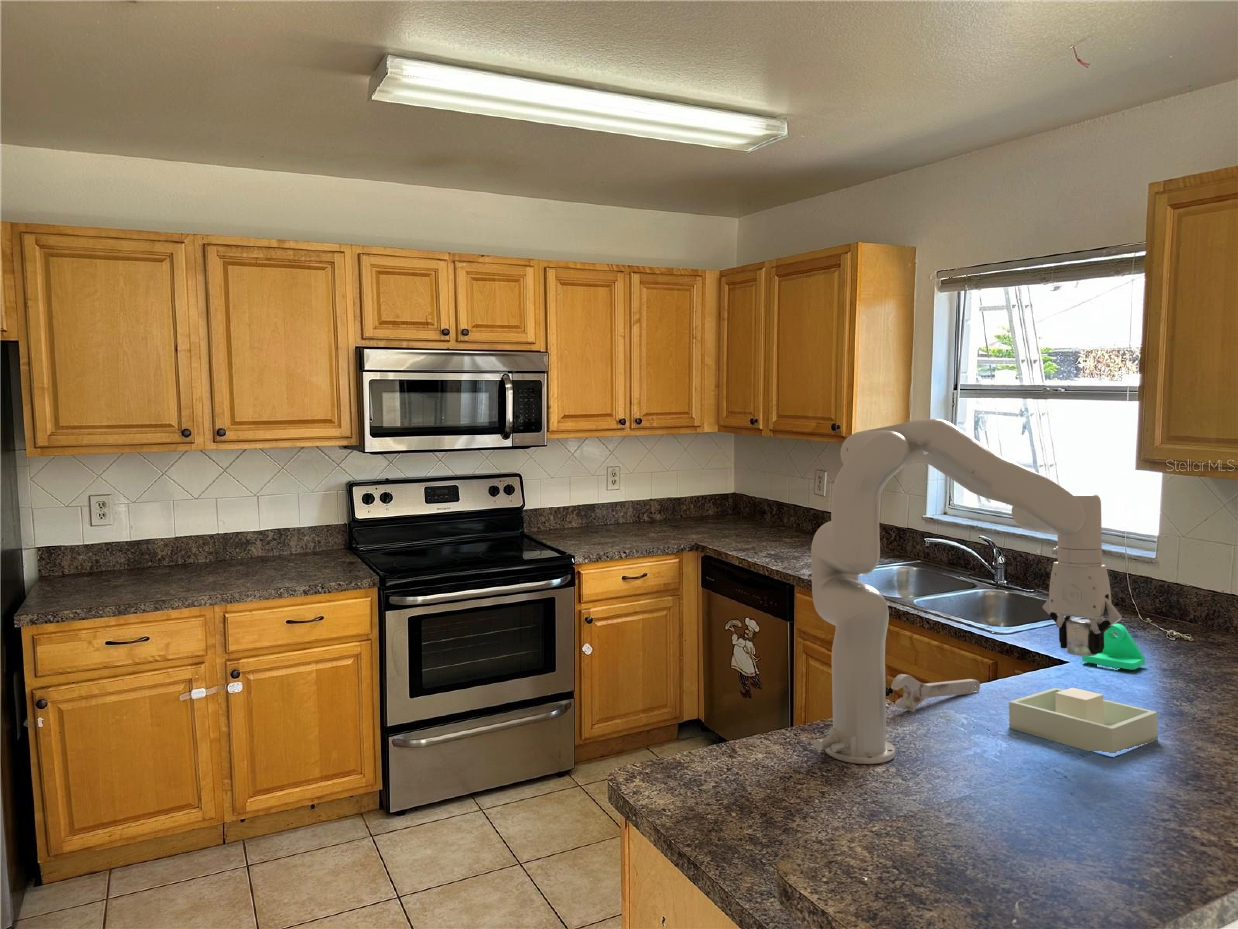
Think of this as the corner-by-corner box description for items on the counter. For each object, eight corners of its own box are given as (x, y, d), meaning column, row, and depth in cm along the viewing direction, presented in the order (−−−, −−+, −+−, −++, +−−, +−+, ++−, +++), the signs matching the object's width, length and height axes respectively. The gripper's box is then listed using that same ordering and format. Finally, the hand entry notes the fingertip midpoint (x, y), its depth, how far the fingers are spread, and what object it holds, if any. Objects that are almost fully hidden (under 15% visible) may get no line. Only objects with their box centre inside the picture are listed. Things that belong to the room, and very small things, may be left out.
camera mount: (1080, 665, 214) (1080, 624, 214) (1093, 660, 219) (1092, 620, 218) (1133, 674, 204) (1132, 632, 204) (1145, 668, 209) (1144, 627, 209)
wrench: (979, 704, 193) (896, 715, 176) (972, 703, 195) (888, 713, 178) (981, 669, 193) (898, 676, 176) (974, 667, 195) (891, 674, 178)
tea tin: (1087, 657, 160) (1087, 626, 160) (1060, 652, 164) (1060, 621, 164) (1102, 653, 163) (1101, 622, 163) (1075, 648, 167) (1075, 618, 167)
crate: (1112, 758, 151) (1112, 728, 151) (1009, 728, 168) (1008, 701, 168) (1157, 739, 160) (1157, 712, 160) (1055, 713, 177) (1054, 687, 177)
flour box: (1086, 737, 160) (1086, 700, 160) (1055, 728, 165) (1055, 692, 165) (1103, 730, 163) (1103, 694, 163) (1072, 722, 168) (1072, 687, 168)
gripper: (1026, 554, 168) (1028, 645, 169) (1114, 563, 154) (1116, 662, 154) (1048, 551, 172) (1050, 639, 173) (1136, 559, 158) (1137, 655, 158)
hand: (1081, 649), depth 164 cm, fingers closed on tea tin, 5 cm apart
